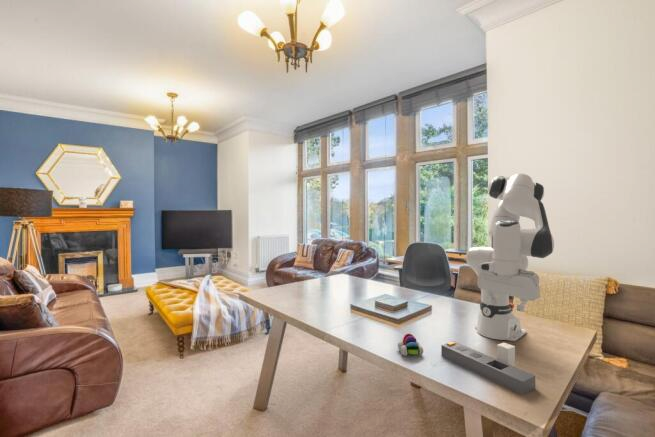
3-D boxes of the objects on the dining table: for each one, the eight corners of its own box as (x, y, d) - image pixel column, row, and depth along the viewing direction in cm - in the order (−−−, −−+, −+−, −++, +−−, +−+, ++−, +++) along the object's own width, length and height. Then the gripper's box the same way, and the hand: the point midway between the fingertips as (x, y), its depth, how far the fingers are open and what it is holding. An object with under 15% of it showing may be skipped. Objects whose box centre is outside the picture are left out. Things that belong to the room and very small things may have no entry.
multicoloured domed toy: (417, 347, 131) (417, 330, 131) (425, 358, 122) (425, 339, 121) (396, 348, 131) (396, 330, 131) (402, 359, 121) (402, 340, 121)
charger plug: (503, 367, 115) (503, 342, 115) (514, 372, 111) (515, 346, 111) (496, 370, 113) (497, 344, 113) (508, 375, 109) (508, 348, 109)
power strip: (453, 353, 125) (453, 339, 125) (535, 391, 99) (535, 373, 99) (441, 358, 122) (441, 343, 122) (522, 398, 96) (522, 379, 96)
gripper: (544, 271, 103) (543, 313, 104) (485, 262, 121) (485, 298, 122) (533, 273, 100) (533, 317, 101) (474, 264, 118) (474, 301, 119)
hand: (506, 307), depth 111 cm, fingers open, 8 cm apart
